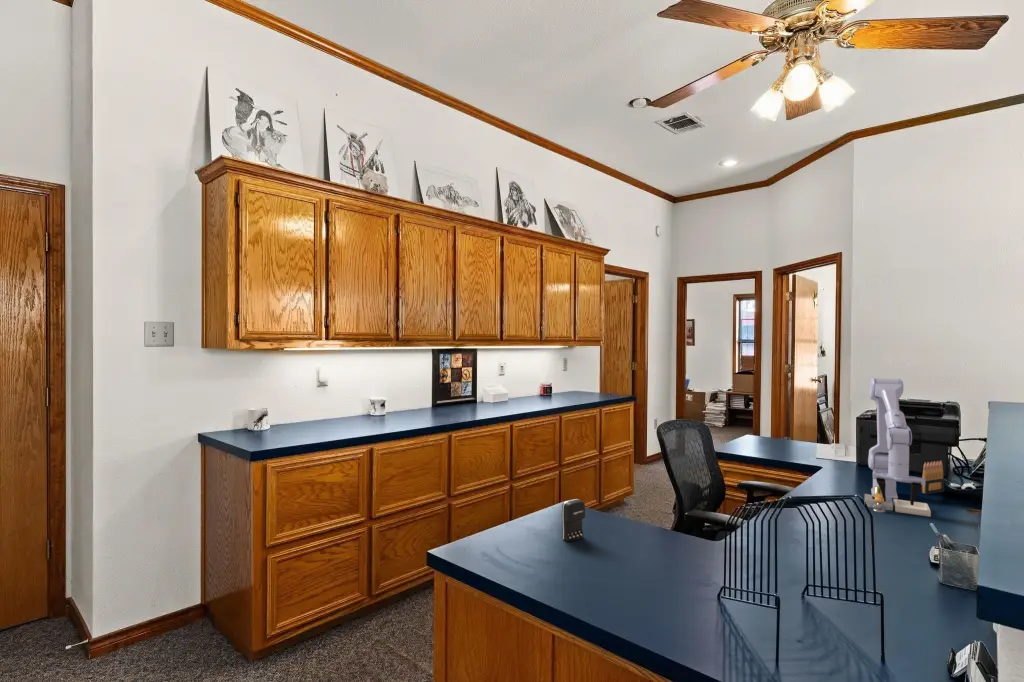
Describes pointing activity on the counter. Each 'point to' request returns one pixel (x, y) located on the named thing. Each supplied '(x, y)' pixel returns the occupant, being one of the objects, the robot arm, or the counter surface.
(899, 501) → the tray
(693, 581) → the counter surface
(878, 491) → the pin
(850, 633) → the counter surface
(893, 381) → the robot arm
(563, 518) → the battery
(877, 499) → the keeper
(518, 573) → the counter surface
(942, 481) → the ammunition clip
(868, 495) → the hitch block
